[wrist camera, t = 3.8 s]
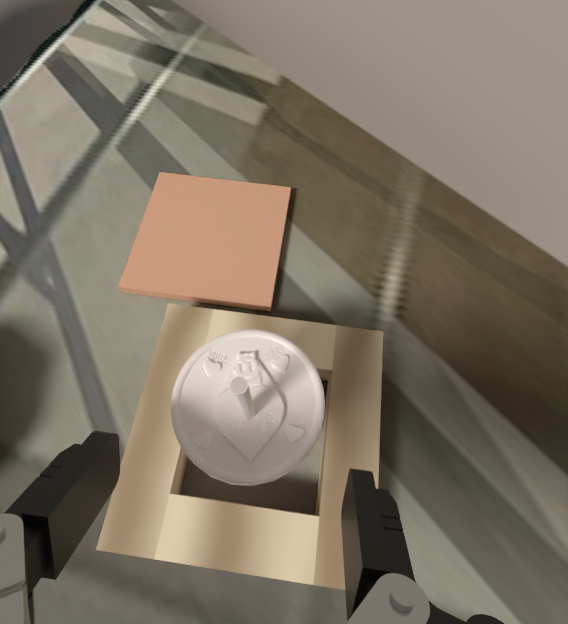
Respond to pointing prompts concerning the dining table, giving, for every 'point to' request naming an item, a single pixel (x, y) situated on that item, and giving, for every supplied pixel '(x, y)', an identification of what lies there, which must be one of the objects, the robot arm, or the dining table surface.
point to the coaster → (209, 242)
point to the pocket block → (235, 516)
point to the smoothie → (248, 407)
